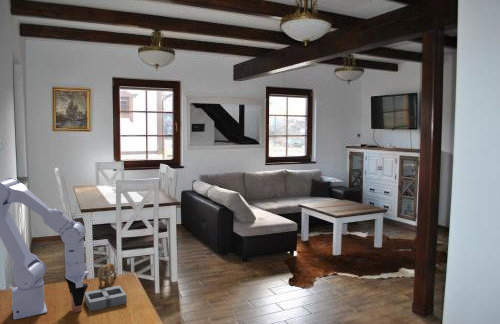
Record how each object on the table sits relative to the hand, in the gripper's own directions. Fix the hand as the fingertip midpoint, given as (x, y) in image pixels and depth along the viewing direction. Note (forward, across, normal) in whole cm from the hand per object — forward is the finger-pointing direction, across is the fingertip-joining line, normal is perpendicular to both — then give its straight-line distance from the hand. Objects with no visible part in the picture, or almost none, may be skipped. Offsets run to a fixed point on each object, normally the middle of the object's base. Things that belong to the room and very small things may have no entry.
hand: (76, 300), depth 136 cm
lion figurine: (+4, +17, -14) cm, 22 cm away
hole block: (+3, +2, -9) cm, 10 cm away
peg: (+3, 0, 0) cm, 3 cm away
